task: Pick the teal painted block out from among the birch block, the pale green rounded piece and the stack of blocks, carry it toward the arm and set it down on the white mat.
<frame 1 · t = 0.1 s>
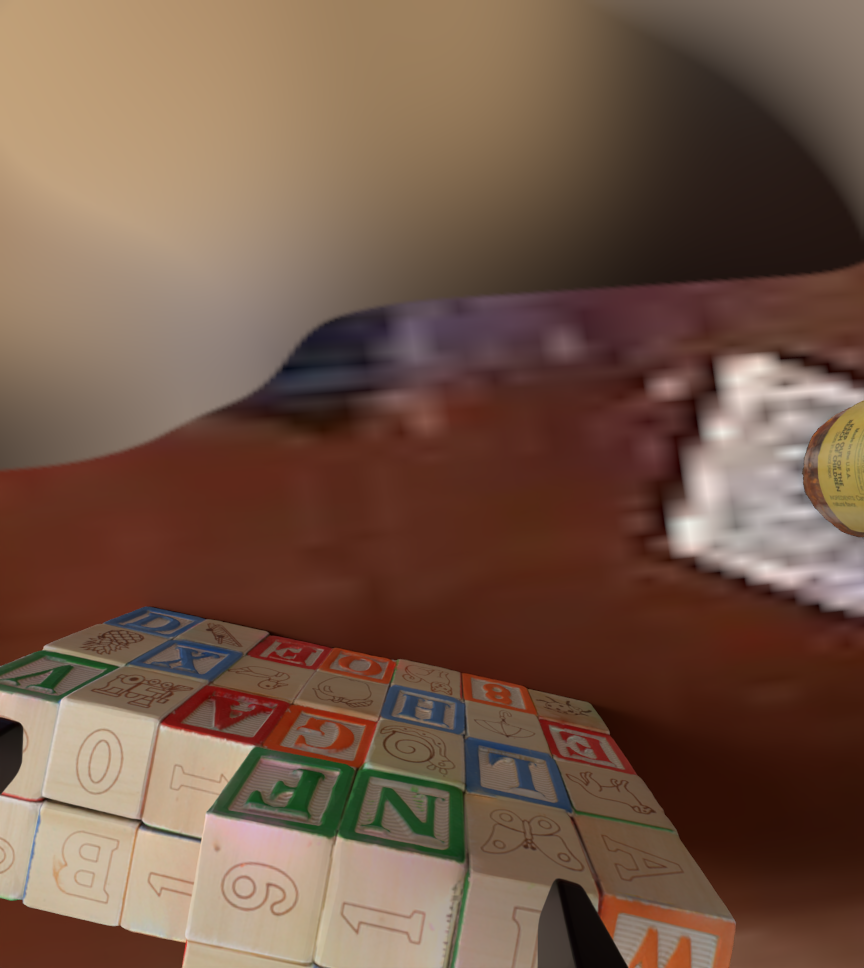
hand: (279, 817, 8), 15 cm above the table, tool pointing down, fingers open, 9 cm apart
stack of blocks: (354, 714, 24), on the table
sauce bottle: (856, 468, 23), on the table
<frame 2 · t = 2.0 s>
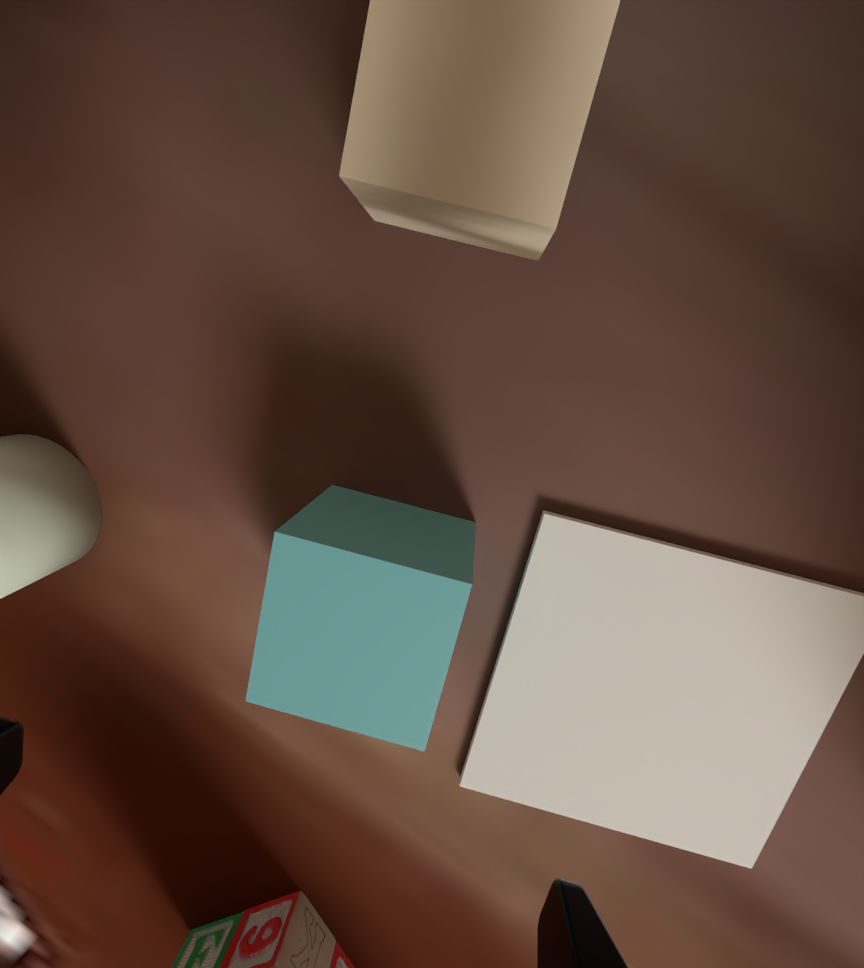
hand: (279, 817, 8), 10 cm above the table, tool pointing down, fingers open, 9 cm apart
pale green rounded piece: (37, 502, 19), on the table
birch block: (477, 149, 15), on the table
teal block: (388, 569, 18), on the table
white mat: (651, 695, 18), on the table
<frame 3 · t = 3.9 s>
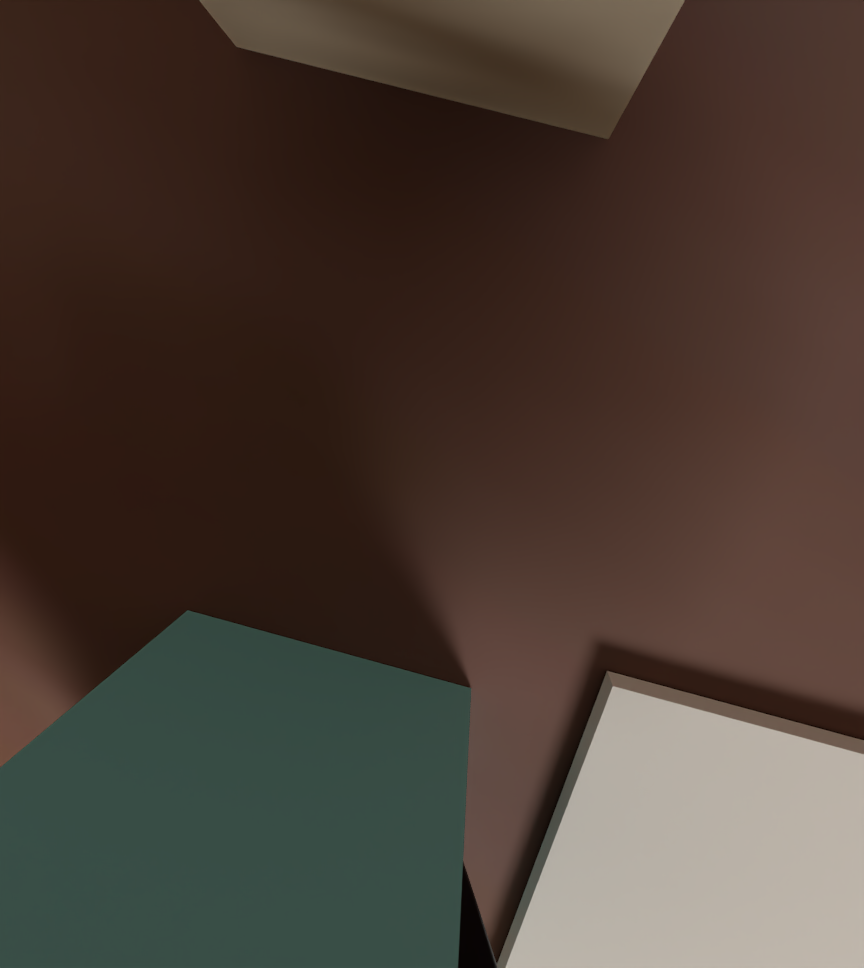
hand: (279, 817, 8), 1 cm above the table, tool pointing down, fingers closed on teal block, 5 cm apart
teal block: (302, 767, 9), on the table, touching gripper
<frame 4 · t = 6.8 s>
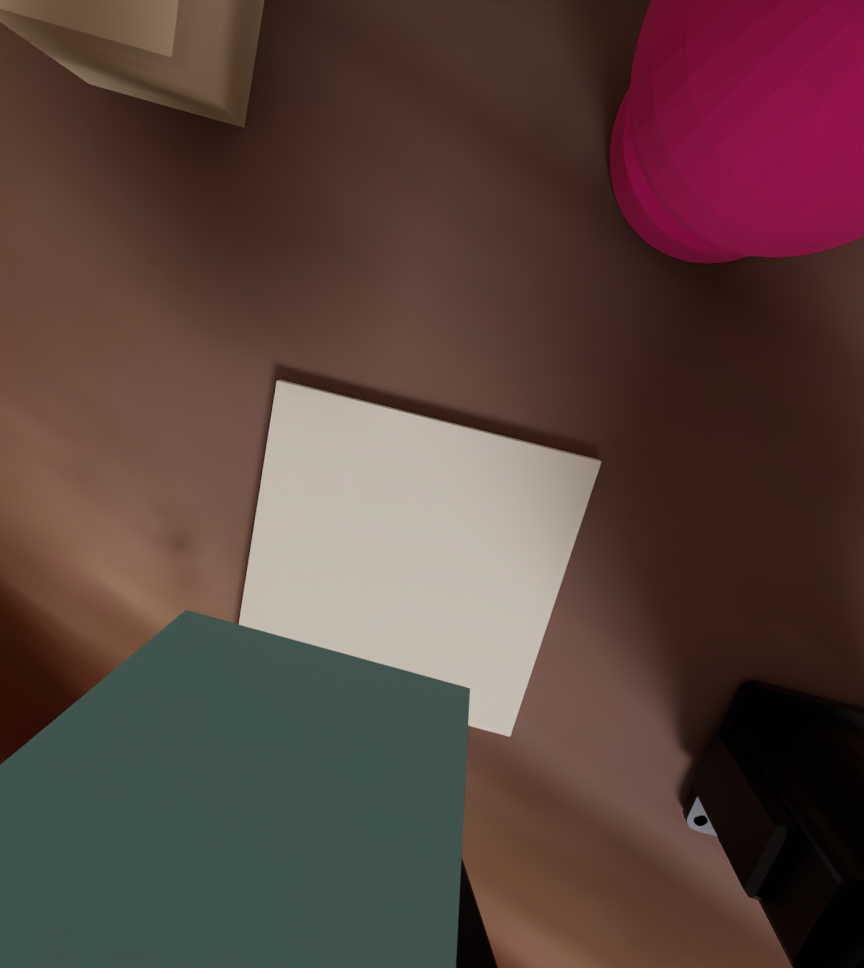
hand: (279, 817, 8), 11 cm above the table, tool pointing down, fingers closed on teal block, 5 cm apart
pepper mill: (717, 150, 15), on the table
birch block: (180, 13, 15), on the table
teal block: (301, 767, 9), point 10 cm above the table, touching gripper
white mat: (403, 566, 19), on the table
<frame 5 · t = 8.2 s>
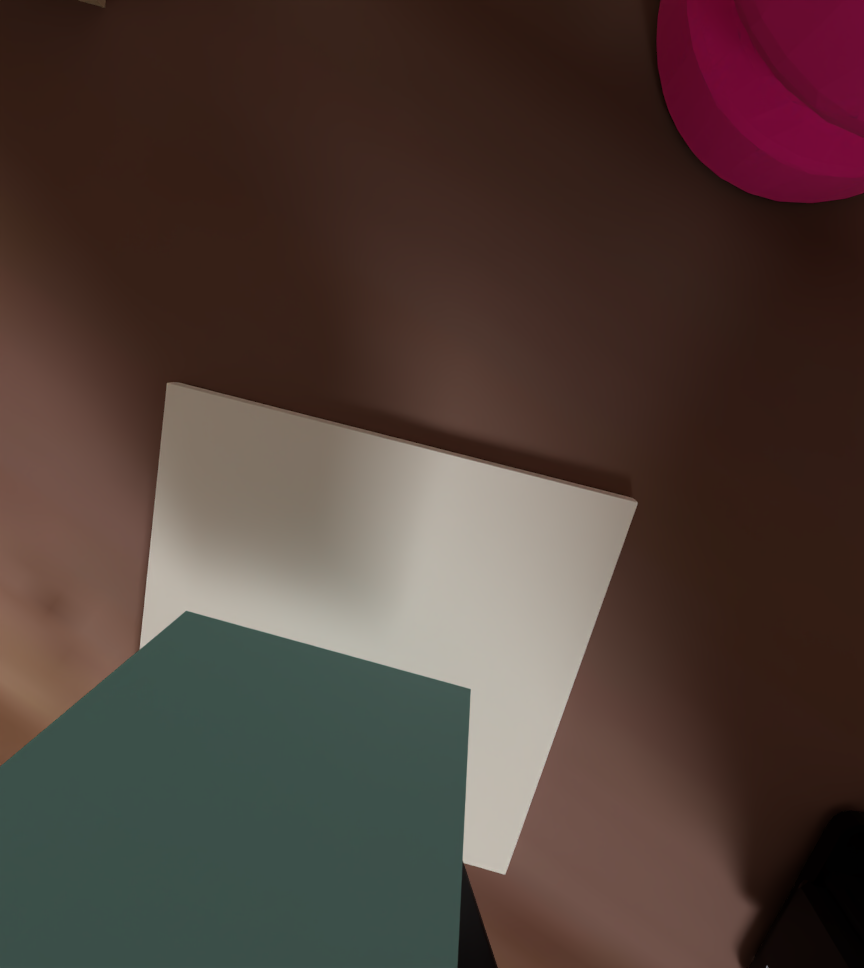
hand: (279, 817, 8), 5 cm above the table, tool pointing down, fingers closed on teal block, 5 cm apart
pepper mill: (825, 24, 10), on the table
teal block: (301, 768, 9), point 4 cm above the table, touching gripper
white mat: (355, 642, 13), on the table
when the fingers open (3 cm above the table, at t = 9.6 s): teal block drops 2 cm, resting on white mat.
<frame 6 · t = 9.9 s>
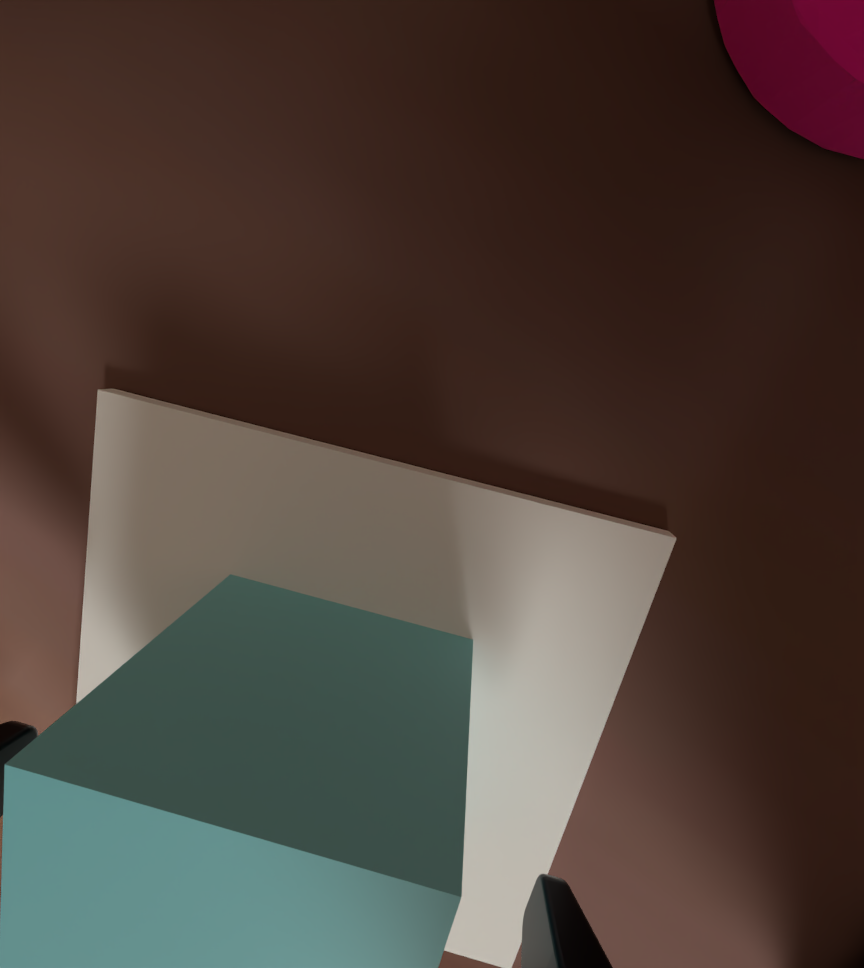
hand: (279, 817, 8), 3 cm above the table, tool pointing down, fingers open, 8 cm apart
teal block: (327, 711, 11), resting on white mat
white mat: (331, 698, 11), on the table
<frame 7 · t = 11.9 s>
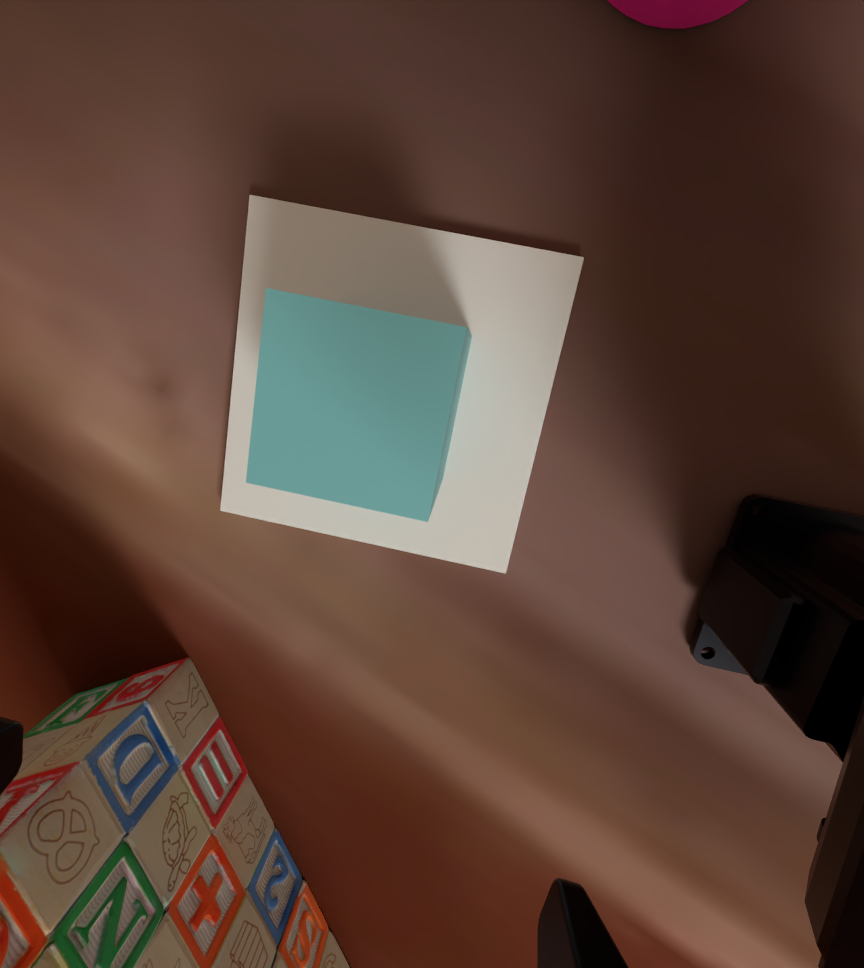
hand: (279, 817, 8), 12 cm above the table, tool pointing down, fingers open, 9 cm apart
stack of blocks: (237, 859, 25), on the table
teal block: (386, 395, 18), resting on white mat
white mat: (387, 394, 18), on the table
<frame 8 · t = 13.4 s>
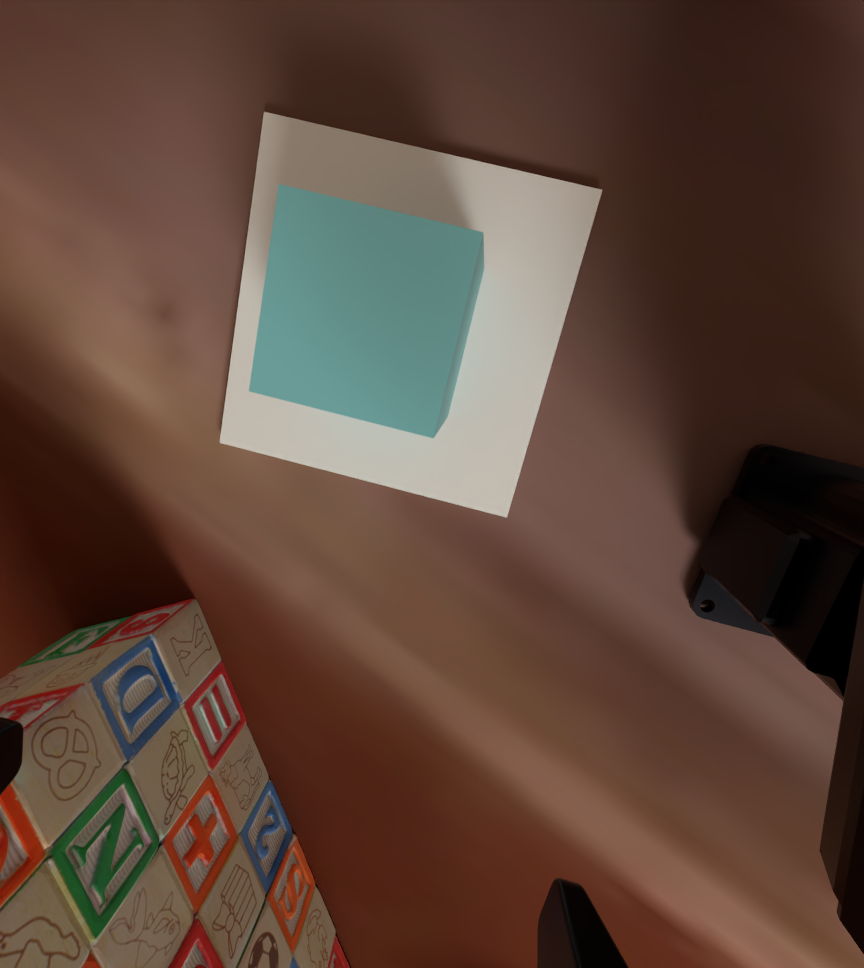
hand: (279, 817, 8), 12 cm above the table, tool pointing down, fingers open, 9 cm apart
stack of blocks: (227, 809, 24), on the table
teal block: (394, 328, 18), resting on white mat
white mat: (395, 328, 18), on the table
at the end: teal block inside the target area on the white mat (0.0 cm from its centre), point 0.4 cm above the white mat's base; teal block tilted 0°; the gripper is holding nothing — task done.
